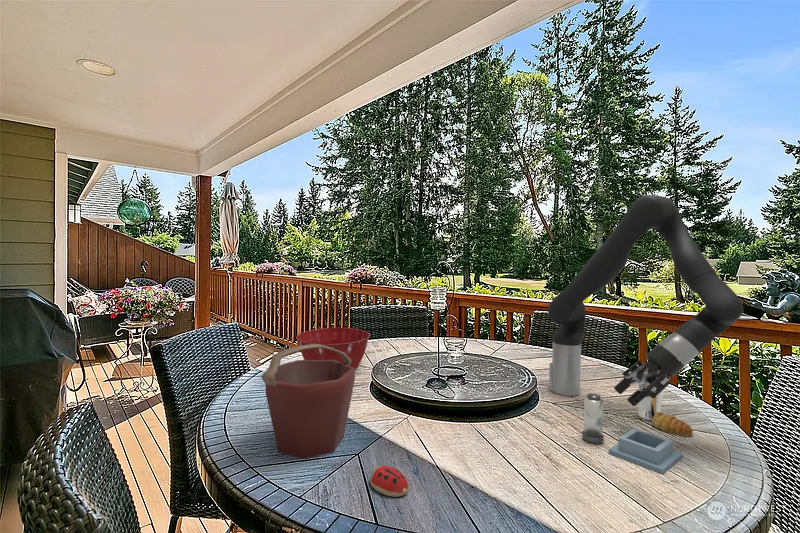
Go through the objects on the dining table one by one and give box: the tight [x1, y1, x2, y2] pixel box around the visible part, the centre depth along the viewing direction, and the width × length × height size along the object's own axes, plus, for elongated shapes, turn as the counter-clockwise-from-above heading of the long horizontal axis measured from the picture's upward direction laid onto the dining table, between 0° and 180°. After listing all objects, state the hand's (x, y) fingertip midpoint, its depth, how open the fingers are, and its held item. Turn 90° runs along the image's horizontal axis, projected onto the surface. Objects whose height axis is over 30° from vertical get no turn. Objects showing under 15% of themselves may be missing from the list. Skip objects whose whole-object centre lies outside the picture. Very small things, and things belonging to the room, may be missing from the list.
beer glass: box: [637, 383, 665, 422], centre depth 126 cm, size 7×7×15 cm
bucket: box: [261, 344, 356, 460], centre depth 109 cm, size 24×22×25 cm
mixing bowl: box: [296, 327, 371, 371], centre depth 167 cm, size 28×28×16 cm
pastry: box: [650, 411, 694, 437], centre depth 117 cm, size 9×7×4 cm
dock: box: [607, 428, 684, 475], centre depth 103 cm, size 12×12×4 cm
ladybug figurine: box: [369, 465, 410, 498], centre depth 89 cm, size 7×10×4 cm
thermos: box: [581, 392, 605, 446], centre depth 111 cm, size 5×5×12 cm
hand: (623, 397), depth 110 cm, fingers open, 8 cm apart
